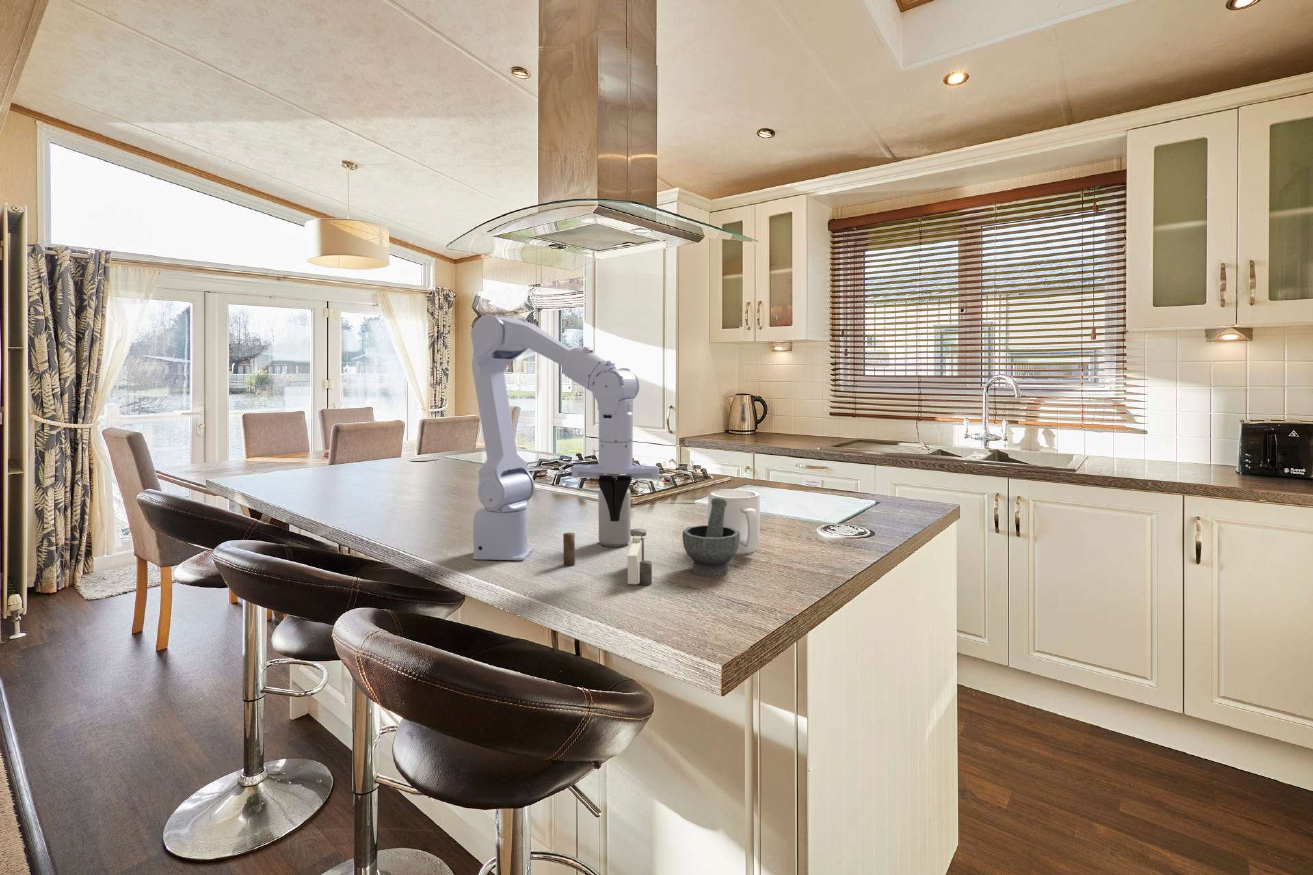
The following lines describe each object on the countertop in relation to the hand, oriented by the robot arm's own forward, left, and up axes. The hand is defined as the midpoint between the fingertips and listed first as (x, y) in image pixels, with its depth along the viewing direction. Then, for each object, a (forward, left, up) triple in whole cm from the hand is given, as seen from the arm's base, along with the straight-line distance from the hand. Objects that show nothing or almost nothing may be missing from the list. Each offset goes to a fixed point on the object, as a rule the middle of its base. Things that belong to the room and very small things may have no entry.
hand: (615, 520), depth 108 cm
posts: (-2, 0, -9) cm, 9 cm away
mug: (+22, +17, -9) cm, 29 cm away
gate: (+4, -1, -9) cm, 10 cm away
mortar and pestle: (+17, +3, -9) cm, 19 cm away
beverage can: (-2, +19, -9) cm, 21 cm away
